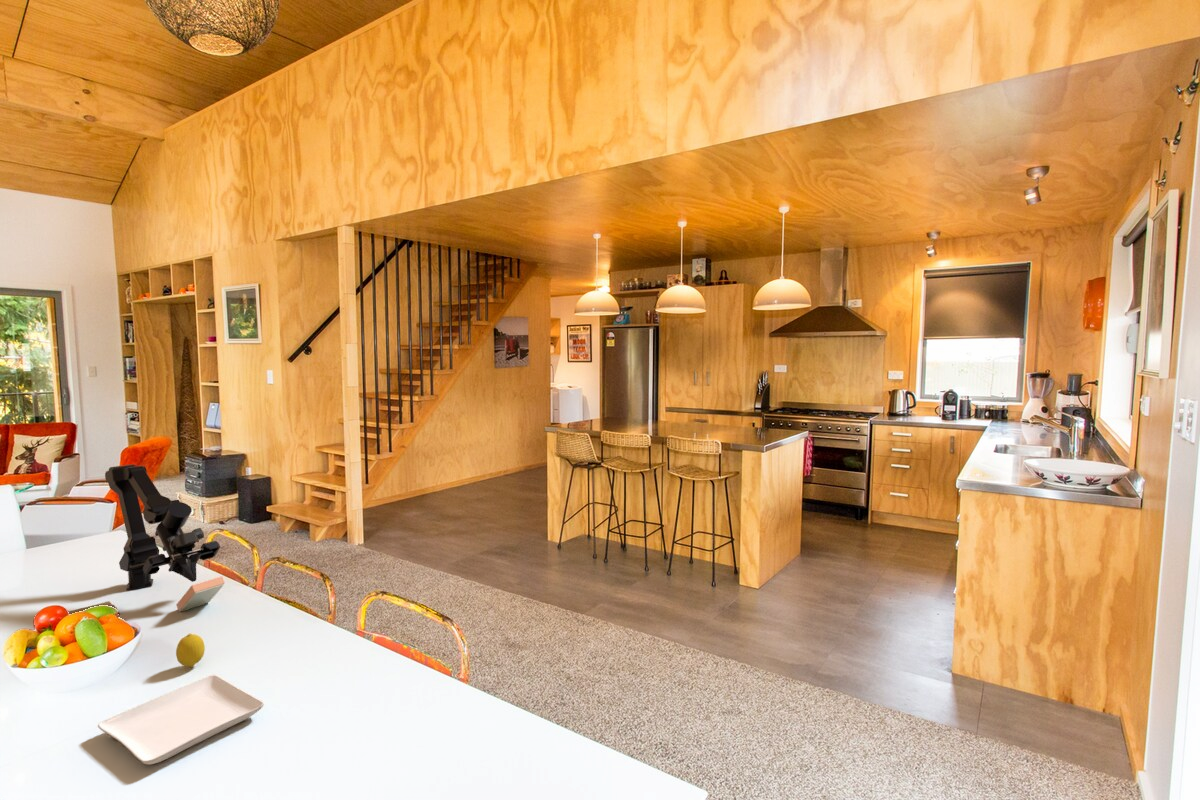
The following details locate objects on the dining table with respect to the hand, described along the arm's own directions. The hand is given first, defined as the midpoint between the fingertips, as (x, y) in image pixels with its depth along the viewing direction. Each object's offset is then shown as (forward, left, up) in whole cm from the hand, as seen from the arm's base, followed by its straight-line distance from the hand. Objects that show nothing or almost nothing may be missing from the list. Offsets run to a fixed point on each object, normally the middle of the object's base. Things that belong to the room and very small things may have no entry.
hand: (194, 580), depth 176 cm
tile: (-1, -1, -7) cm, 7 cm away
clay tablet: (-10, -25, -9) cm, 28 cm away
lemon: (+41, -1, -8) cm, 41 cm away
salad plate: (+68, -2, -9) cm, 68 cm away
